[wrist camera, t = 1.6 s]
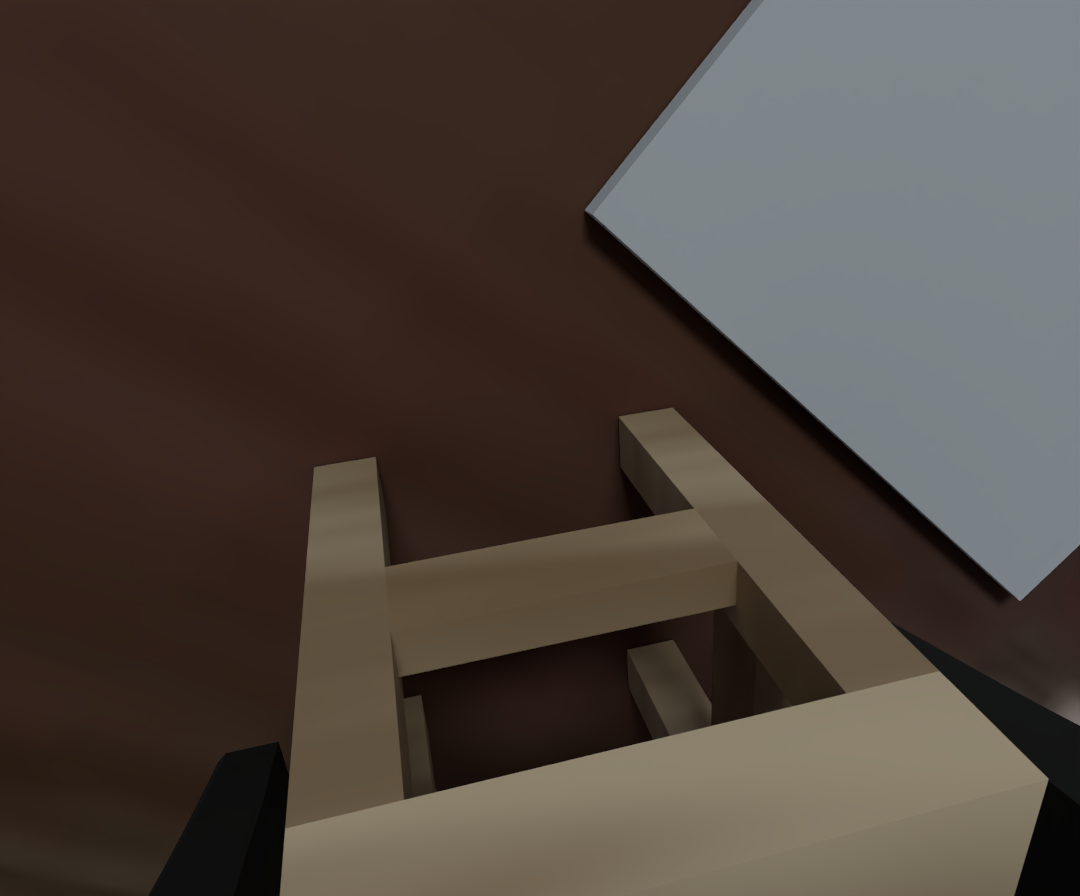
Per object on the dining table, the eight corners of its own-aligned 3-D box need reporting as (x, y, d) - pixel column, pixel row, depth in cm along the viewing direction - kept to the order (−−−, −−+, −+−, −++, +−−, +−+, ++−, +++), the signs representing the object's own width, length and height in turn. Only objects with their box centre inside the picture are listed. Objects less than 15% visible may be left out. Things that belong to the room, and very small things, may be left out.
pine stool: (672, 676, 15) (938, 1154, 8) (377, 744, 14) (408, 1343, 7) (672, 407, 12) (1049, 778, 6) (314, 466, 11) (271, 990, 5)
